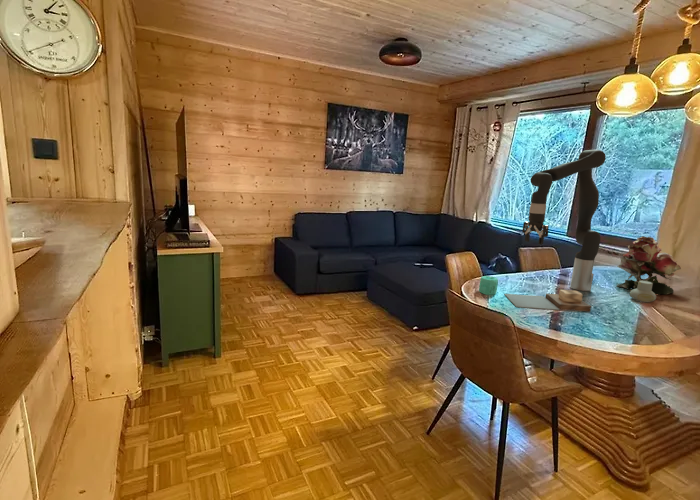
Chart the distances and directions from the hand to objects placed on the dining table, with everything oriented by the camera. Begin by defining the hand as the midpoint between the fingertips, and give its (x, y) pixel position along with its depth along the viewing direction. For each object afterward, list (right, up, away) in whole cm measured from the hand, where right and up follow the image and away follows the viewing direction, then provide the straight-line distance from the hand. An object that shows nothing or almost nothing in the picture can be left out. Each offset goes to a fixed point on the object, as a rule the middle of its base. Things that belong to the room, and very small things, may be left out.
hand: (533, 242), depth 206 cm
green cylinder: (-25, -26, -1) cm, 36 cm away
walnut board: (+9, -30, -15) cm, 35 cm away
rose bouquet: (+70, -26, +20) cm, 78 cm away
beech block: (+10, -28, -15) cm, 34 cm away
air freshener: (+54, -30, -3) cm, 62 cm away
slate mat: (-8, -29, -13) cm, 33 cm away
